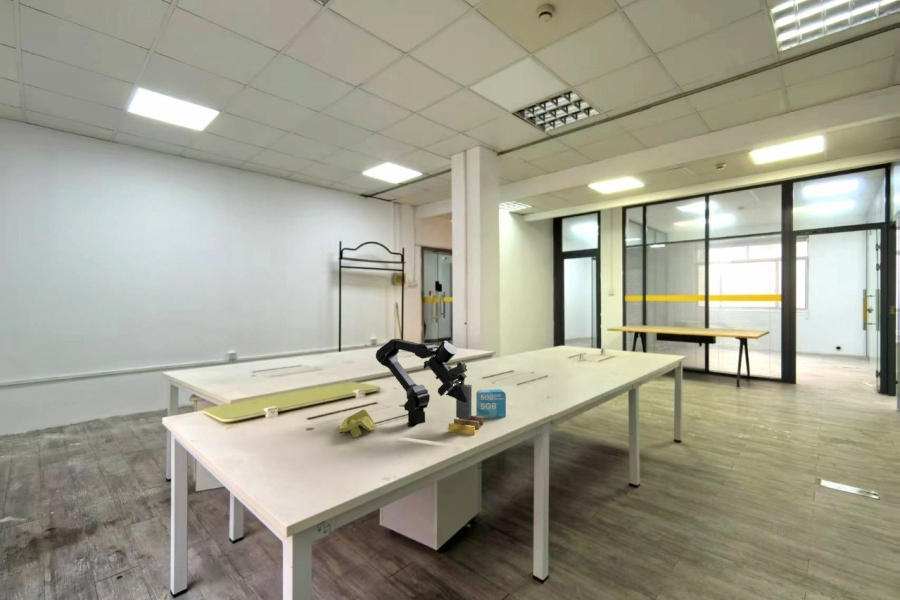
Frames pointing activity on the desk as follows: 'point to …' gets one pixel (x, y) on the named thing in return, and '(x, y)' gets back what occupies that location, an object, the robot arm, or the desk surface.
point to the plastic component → (357, 423)
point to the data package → (491, 403)
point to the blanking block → (465, 408)
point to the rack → (466, 425)
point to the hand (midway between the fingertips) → (467, 400)
